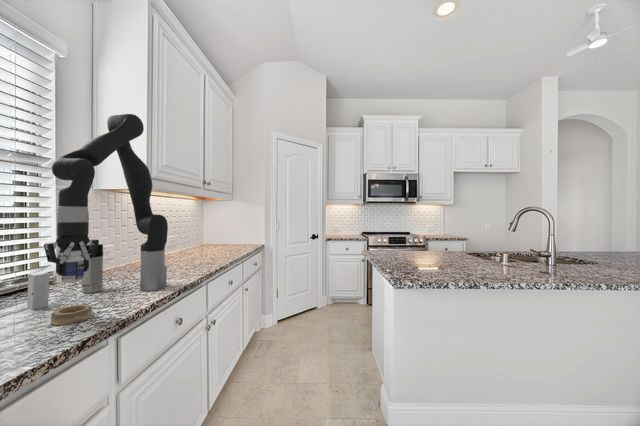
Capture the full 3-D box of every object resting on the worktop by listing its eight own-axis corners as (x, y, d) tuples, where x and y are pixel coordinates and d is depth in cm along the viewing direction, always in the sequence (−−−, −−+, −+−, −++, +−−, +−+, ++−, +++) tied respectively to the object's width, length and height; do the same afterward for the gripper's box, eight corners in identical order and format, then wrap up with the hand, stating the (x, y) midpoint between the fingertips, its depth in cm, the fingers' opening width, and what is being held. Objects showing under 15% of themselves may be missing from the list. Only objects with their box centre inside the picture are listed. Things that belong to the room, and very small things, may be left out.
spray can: (85, 290, 119) (85, 244, 119) (104, 288, 122) (105, 243, 122) (79, 294, 113) (80, 246, 113) (100, 292, 116) (100, 245, 116)
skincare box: (26, 306, 99) (26, 273, 98) (43, 303, 102) (43, 270, 102) (32, 310, 96) (32, 275, 95) (49, 306, 99) (50, 272, 99)
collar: (80, 311, 95) (80, 302, 95) (99, 315, 91) (99, 306, 91) (43, 322, 86) (43, 312, 86) (62, 327, 82) (62, 317, 82)
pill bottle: (81, 282, 87) (81, 251, 87) (58, 283, 85) (59, 252, 85) (86, 278, 92) (86, 249, 92) (65, 279, 90) (65, 249, 90)
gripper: (91, 219, 96) (90, 268, 97) (37, 221, 83) (36, 277, 83) (105, 220, 94) (104, 270, 94) (51, 221, 80) (51, 279, 80)
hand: (72, 273), depth 88 cm, fingers closed on pill bottle, 5 cm apart
